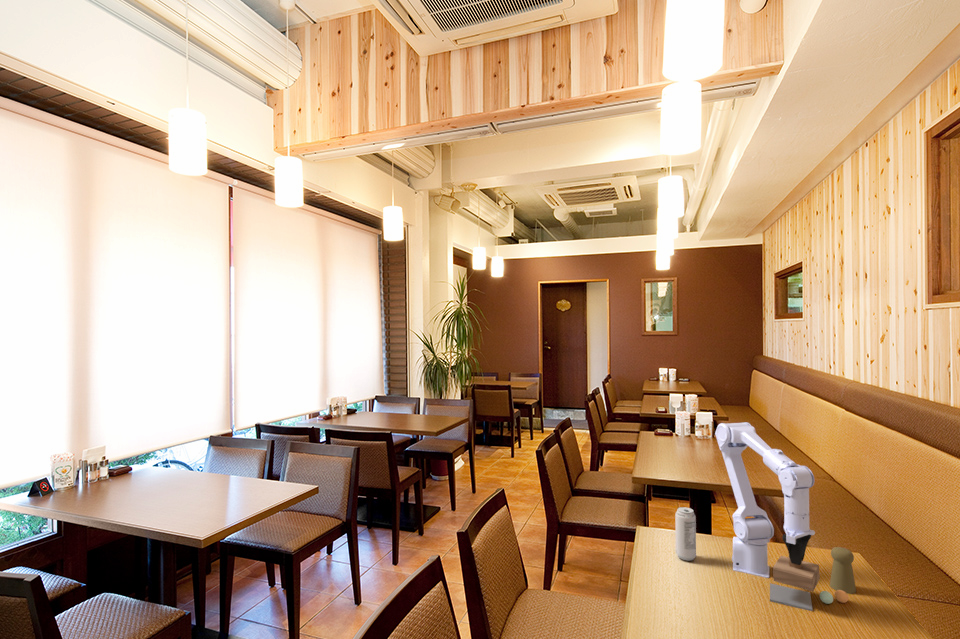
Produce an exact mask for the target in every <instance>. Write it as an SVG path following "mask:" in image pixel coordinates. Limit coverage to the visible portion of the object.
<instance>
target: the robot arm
mask: <svg viewBox="0 0 960 639" xmlns="http://www.w3.org/2000/svg"><path fill="white" fill-rule="evenodd" d="M714 432H715V433H714V435H715V438H716V442H717V444H718V448H719V451H721V454H722V458H723V461H724V465H725V468H726V471H727V474H728V478H729V481H730V485H731V488H732V492H733V495H734V499H735V501H736V505H737V509H736V510H735V511H734V512H733V514H732V520H733V531H734V533H735V535H736V536H733V538H732V556H731V561H732V570H733V571H734V572H740V573H744V574H748V575H752V576H755V577H756V576H757V577H761V578H766V579H769V578H770V565H768V564H769V562H768V561H769V560H768V543H770V541H771V539H772V538H773V537H774V535H775V534H774V533H775V528H774V525H773V523H772V522H771V520H770V518H769V517H768V514H767V512H766V510H764V509H762V508H761V507H759V506H758V504H757V502H756V498H755V495H754V491H753V489H752V485H751V482H750V480H749V476H748V472H747V469H746V467H745V464H744V460H743V457H742V454H743V451H744V450H746V449H747V448H748V447H749V448H750V449H752V450H753V451H755V453H756V454H758V456H761V457H762V461H763V462H762V463H763V464H764V465H765V466H766V467H767V468H768V469H770V470H771V471H772V472H773V473H774V474H776V476H778V481H779V483H780V486H781V491H782V494H783V502H784V504H783V506H784V507H783V508H784V511H783V514H784V517H783V518H784V519H783V522H784V523H783V531H784V532H785V534H784V533H783V534H782V542H784V544H785V547H786V549H787V552H788V557H790V561H791V563H793V564H796V565H800V564H801V562H802V561H804V559H805V555H806V549H807V546H808V543H809V541H810V539H811V538H812V536H815V533H816V531H815V530H813V529H811V528H810V488H812V487H813V486H815V476H814V474H813V471H812V470H811V469H810V468H809V467H808V466H807V465H800V464H797V463H796V462H795V461H794V460H792V459H791V458H790V457H788V456H787V455H786V454H785V453H784V452H783V451H782V449H778V448H772V447H771V446H769V445H768V444H767V442H766V441H764V440H763V439H762V438H761V437H760V436H759V435H758V433H757V431H756V427H754V426H753V425H751V423H750V422H746V421H745V422H732V423H731V422H730V423H727V422H726V423H724V422H721V423H719V424H718V425H717V427H716V430H715V431H714Z"/></svg>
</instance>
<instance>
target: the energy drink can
mask: <svg viewBox="0 0 960 639" xmlns="http://www.w3.org/2000/svg"><path fill="white" fill-rule="evenodd" d="M674 514H675V515H674V518H675V521H674V522H675V527H674V528H675V554H676V555H677V557H678V558H679V559H680V560H683V561H687V562H688V561H693V560H695V558H696V557H697V529H696V528H697V523H696V522H697V519H696V518H697V517H696V514H695V512H694V509H692V508H691V507H687V506H686V507H685V506H681V507H680V506H679V507H678V508H677V510H676V512H675V513H674Z"/></svg>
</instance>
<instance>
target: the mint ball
mask: <svg viewBox="0 0 960 639" xmlns="http://www.w3.org/2000/svg"><path fill="white" fill-rule="evenodd" d="M833 596H834V595H832V594H831V592H830V591H827V590H822V591H820V592H819V596H818V597H819V599H820V600H821V602H822V603H824V604H827V605H829V604H832V603H833V602H834V597H833Z"/></svg>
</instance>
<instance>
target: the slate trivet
mask: <svg viewBox="0 0 960 639" xmlns="http://www.w3.org/2000/svg"><path fill="white" fill-rule="evenodd" d="M769 602H772V603H776V604H781V605H785V606H789V607H792V608H797V609H800V610H805V611H809V612H813V604H812V598H811V591H807V590H803V589H796V588H792V587H788V586H784V585H780V584H776V583H775V584H774V583H771V582H769Z"/></svg>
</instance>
